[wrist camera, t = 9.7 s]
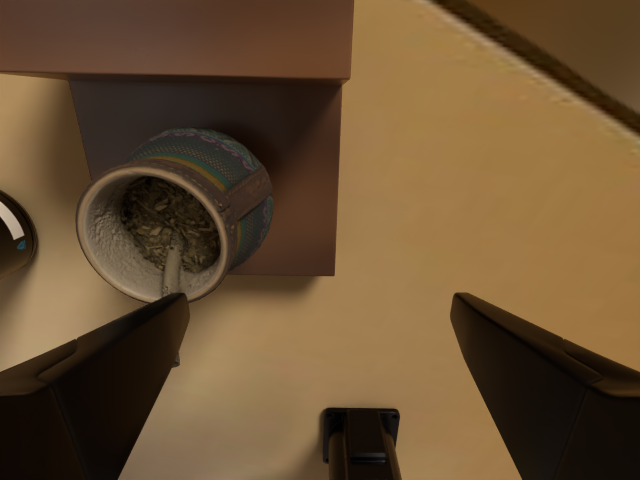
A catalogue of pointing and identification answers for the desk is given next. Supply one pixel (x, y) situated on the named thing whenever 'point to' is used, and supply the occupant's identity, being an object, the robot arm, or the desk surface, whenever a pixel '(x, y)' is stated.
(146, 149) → the mate gourd
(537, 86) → the desk surface
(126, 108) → the step shelf
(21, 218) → the supplement container
